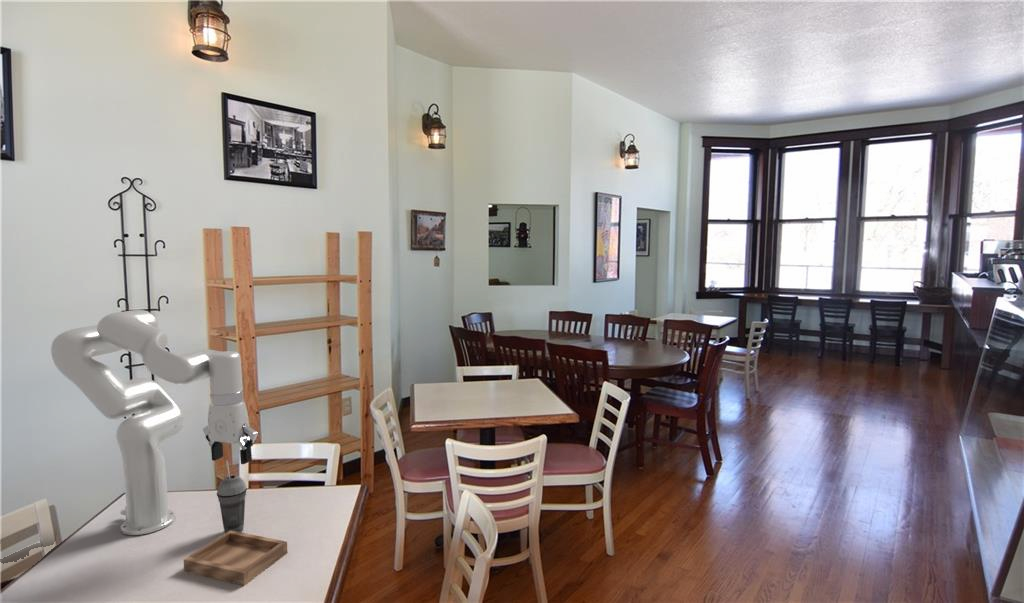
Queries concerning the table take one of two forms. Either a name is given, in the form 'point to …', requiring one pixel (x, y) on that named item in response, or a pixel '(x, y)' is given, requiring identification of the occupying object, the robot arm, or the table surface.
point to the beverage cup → (232, 502)
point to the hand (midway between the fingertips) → (231, 460)
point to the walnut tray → (235, 557)
